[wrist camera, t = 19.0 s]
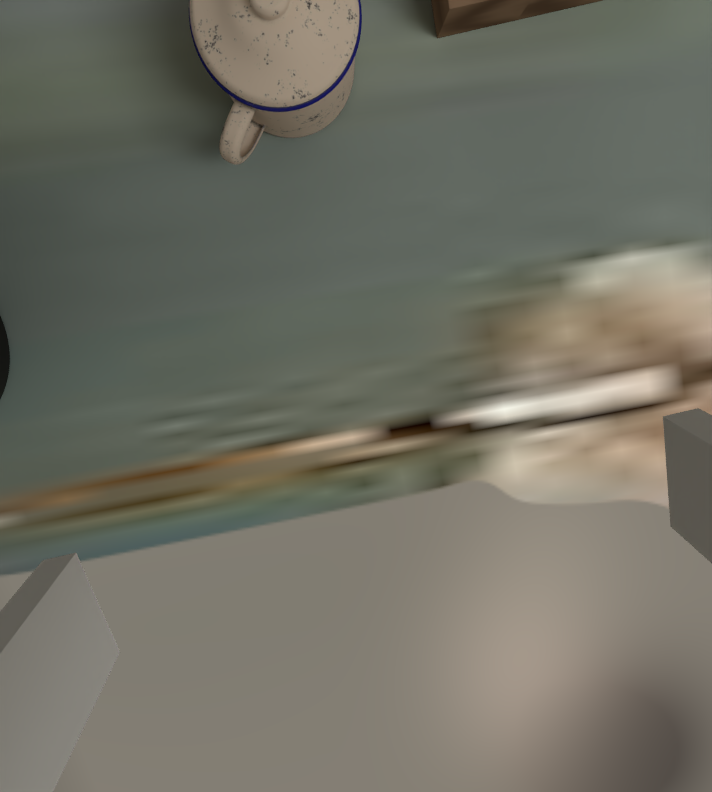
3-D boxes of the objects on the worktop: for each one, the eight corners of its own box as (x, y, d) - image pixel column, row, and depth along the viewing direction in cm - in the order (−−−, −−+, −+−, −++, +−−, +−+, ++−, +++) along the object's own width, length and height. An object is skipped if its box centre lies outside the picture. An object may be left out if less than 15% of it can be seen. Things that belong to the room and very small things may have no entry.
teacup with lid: (258, -35, 37) (220, -167, 25) (381, 39, 38) (398, -56, 27) (182, 141, 39) (117, 92, 28) (301, 206, 40) (285, 184, 29)
